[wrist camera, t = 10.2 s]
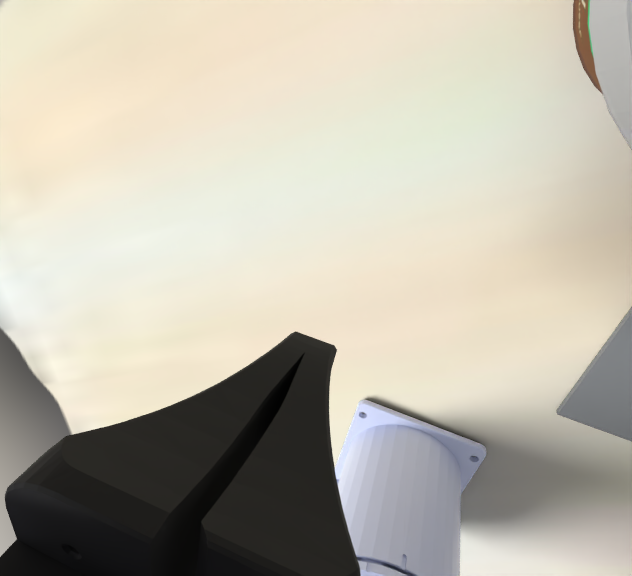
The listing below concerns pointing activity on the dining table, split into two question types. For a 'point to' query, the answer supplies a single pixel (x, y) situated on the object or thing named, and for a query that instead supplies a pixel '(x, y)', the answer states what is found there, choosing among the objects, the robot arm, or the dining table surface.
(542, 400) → the dining table surface
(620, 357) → the rubber mat
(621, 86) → the food container
